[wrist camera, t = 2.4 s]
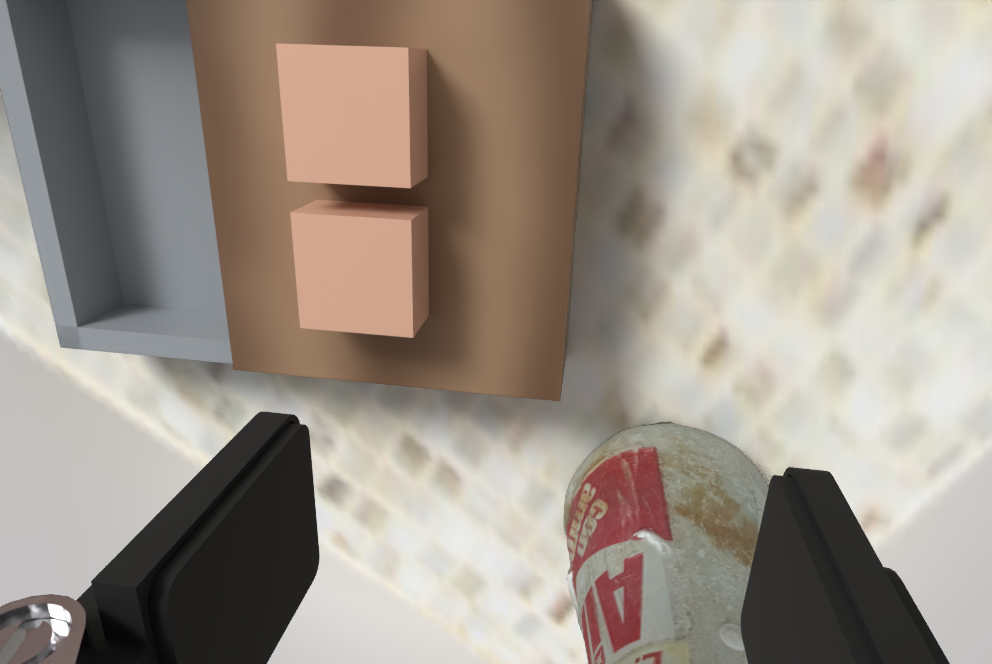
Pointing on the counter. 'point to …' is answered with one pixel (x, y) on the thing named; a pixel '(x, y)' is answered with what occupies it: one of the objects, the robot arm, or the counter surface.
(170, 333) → the box
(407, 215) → the tile
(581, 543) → the bottle
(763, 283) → the counter surface
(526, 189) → the brown square platform
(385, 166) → the tile
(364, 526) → the counter surface
